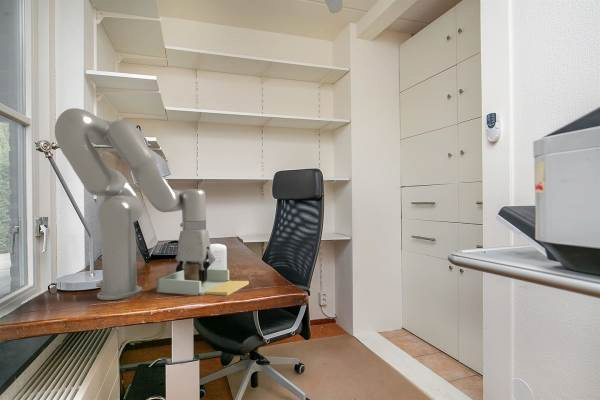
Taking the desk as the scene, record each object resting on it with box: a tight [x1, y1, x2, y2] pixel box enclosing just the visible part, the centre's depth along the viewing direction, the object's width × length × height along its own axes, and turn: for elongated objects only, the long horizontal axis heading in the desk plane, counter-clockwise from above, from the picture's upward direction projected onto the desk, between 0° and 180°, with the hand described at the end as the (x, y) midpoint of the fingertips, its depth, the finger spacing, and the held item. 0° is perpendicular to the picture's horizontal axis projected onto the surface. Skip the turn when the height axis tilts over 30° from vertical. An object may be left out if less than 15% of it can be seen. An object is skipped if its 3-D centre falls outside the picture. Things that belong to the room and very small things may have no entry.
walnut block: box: [184, 262, 207, 285], centre depth 106 cm, size 5×5×7 cm
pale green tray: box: [155, 269, 232, 296], centre depth 106 cm, size 17×17×5 cm
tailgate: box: [203, 280, 250, 297], centre depth 103 cm, size 1×14×8 cm
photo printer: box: [207, 243, 228, 270], centre depth 126 cm, size 10×4×12 cm, turn 125°
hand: (195, 280), depth 106 cm, fingers open, 5 cm apart
